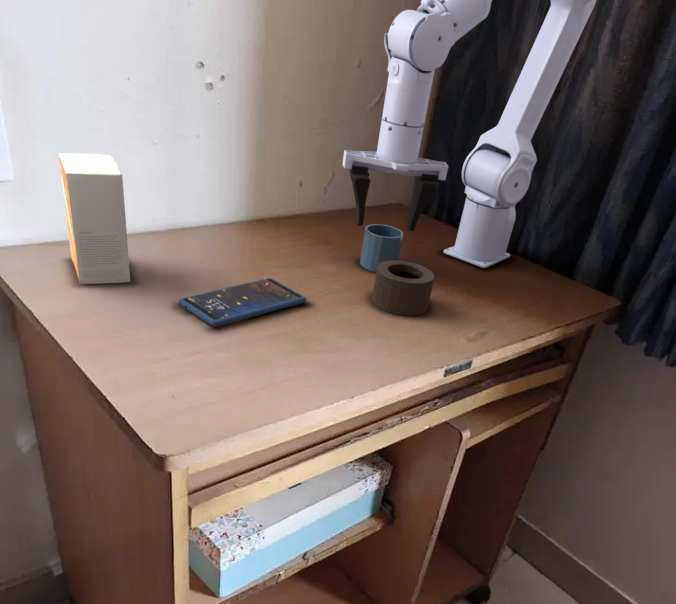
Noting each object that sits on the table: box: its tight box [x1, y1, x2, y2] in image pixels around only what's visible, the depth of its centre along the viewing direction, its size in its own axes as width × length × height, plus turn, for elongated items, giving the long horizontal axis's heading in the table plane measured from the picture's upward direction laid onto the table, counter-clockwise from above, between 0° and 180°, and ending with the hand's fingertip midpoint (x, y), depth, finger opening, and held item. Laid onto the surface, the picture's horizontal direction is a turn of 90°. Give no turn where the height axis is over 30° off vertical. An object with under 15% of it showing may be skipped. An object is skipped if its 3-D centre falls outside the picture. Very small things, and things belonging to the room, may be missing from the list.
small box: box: [58, 153, 131, 285], centre depth 82 cm, size 8×6×13 cm
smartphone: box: [178, 277, 307, 328], centre depth 84 cm, size 8×1×15 cm
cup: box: [359, 223, 404, 273], centre depth 99 cm, size 6×6×5 cm
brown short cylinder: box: [371, 259, 435, 317], centre depth 90 cm, size 8×8×4 cm
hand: (384, 226), depth 97 cm, fingers open, 7 cm apart
